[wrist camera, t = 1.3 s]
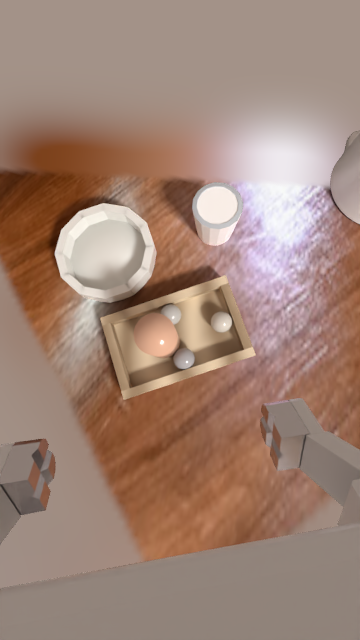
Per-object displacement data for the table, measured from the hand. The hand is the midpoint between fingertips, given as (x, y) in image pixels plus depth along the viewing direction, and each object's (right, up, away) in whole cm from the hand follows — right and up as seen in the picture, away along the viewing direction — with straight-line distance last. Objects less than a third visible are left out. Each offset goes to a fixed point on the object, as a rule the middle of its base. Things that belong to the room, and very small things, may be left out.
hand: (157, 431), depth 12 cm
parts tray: (0, +2, +34) cm, 34 cm away
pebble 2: (0, -2, +31) cm, 31 cm away
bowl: (-10, +14, +37) cm, 40 cm away
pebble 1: (-2, +5, +31) cm, 32 cm away
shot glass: (+6, +19, +37) cm, 41 cm away
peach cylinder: (-1, +1, +33) cm, 33 cm away
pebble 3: (+7, +4, +33) cm, 34 cm away
